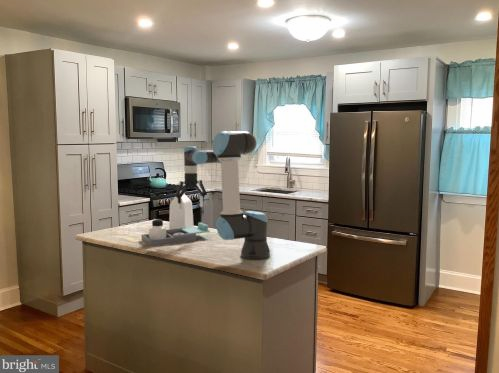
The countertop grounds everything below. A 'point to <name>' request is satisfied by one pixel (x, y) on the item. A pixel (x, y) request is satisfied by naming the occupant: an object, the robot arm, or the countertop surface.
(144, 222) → the countertop surface
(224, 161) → the robot arm
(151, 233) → the medicine bottle
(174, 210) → the milk
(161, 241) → the housing
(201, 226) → the lid
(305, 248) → the countertop surface
